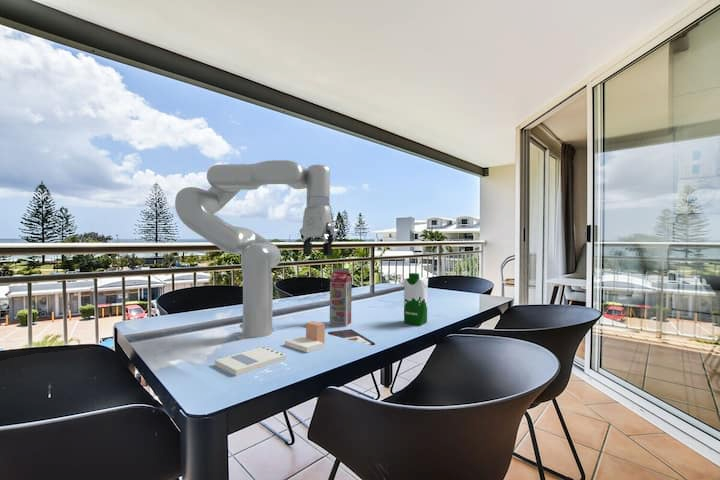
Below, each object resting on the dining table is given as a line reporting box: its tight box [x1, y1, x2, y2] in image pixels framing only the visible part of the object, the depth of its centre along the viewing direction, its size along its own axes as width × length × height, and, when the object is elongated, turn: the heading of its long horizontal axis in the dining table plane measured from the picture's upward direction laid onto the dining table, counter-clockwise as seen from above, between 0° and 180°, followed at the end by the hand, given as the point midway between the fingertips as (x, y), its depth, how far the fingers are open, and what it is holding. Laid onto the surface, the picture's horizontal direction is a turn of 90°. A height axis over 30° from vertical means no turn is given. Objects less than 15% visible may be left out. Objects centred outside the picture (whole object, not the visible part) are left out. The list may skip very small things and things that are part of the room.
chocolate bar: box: [327, 328, 376, 346], centre depth 111 cm, size 9×1×18 cm
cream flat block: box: [214, 346, 287, 377], centre depth 84 cm, size 10×14×2 cm
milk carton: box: [403, 272, 429, 327], centre depth 134 cm, size 9×9×20 cm
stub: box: [284, 320, 326, 353], centre depth 99 cm, size 10×9×6 cm
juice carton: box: [329, 267, 353, 328], centre depth 130 cm, size 7×7×22 cm
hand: (317, 254), depth 109 cm, fingers open, 9 cm apart
